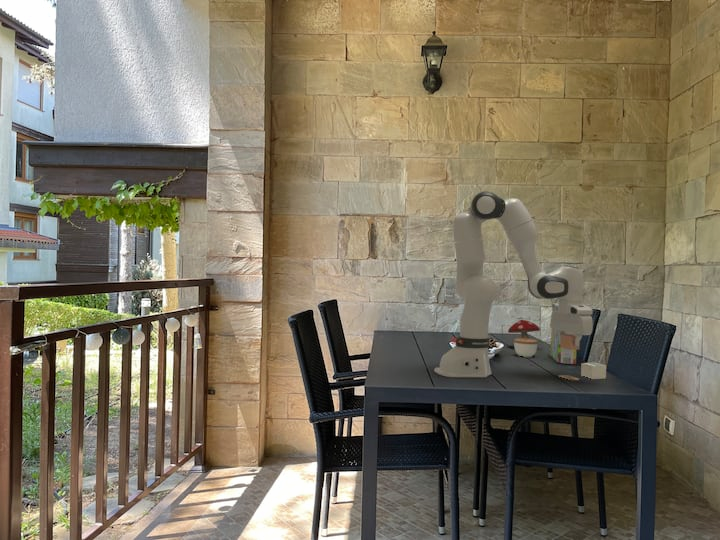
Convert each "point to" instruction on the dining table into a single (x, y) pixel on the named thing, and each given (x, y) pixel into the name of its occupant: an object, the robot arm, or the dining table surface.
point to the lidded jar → (525, 347)
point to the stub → (568, 342)
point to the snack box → (561, 353)
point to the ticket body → (593, 370)
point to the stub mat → (568, 377)
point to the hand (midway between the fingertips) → (569, 343)
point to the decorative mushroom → (523, 328)
